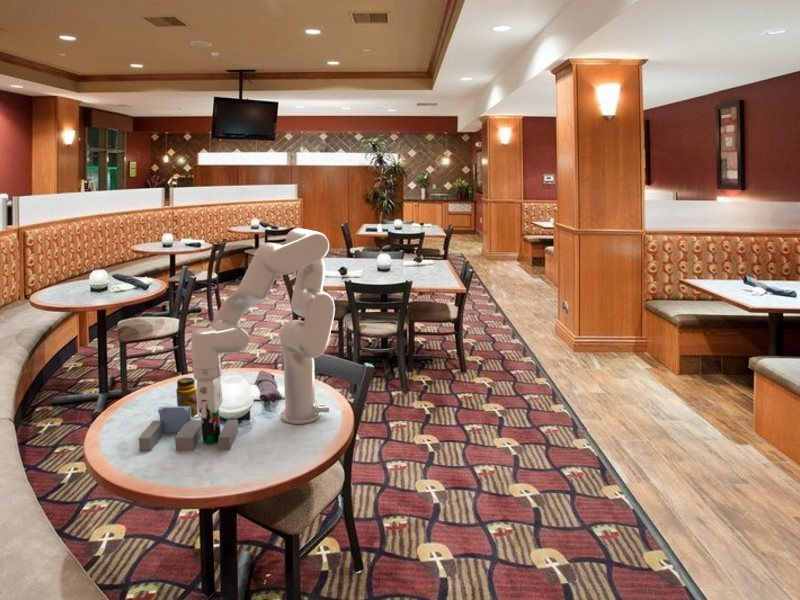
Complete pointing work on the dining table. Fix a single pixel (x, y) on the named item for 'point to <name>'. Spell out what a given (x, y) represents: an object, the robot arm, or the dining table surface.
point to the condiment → (187, 394)
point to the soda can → (214, 438)
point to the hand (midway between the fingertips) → (211, 430)
